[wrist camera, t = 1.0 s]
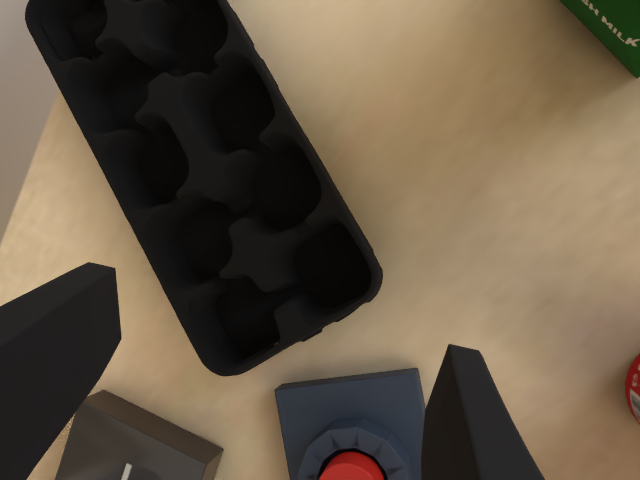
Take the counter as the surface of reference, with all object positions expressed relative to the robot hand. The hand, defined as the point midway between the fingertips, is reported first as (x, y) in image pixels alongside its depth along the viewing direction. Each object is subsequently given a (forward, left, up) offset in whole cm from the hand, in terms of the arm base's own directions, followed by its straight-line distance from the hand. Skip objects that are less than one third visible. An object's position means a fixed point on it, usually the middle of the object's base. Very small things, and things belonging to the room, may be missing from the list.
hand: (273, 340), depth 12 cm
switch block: (-12, -4, -23) cm, 26 cm away
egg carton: (+1, +15, -23) cm, 27 cm away
